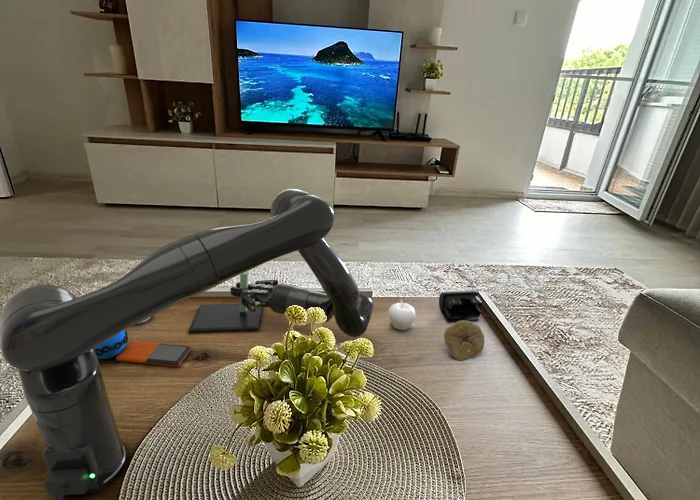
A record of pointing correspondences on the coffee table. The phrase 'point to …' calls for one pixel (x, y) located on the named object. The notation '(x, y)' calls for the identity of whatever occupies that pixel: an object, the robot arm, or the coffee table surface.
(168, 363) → the phone
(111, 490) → the coffee table surface
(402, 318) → the apple
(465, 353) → the fossil
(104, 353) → the ornament
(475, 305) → the end cap
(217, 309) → the tablet
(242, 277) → the stylus
